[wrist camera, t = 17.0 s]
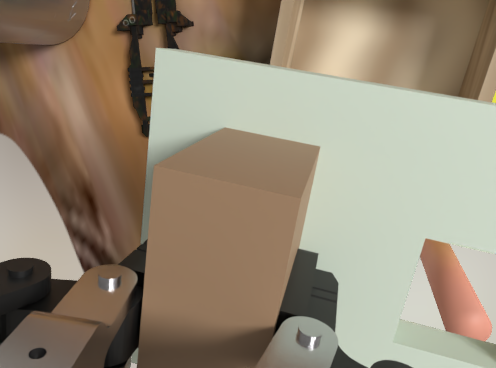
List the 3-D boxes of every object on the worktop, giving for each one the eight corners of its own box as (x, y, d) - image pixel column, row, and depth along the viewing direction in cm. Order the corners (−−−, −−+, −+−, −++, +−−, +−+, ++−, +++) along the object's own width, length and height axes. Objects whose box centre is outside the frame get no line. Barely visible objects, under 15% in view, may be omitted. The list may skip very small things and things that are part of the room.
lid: (148, 338, 18) (45, 479, 12) (175, 48, 14) (44, 42, 8) (495, 444, 16) (584, 688, 10) (639, 127, 12) (938, 200, 6)
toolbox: (272, 119, 35) (257, 131, 30) (302, -38, 32) (292, -59, 26) (446, 156, 33) (465, 176, 27) (501, -9, 29) (536, -25, 24)
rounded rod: (413, 252, 36) (441, 340, 25) (419, 226, 35) (451, 304, 24) (442, 257, 35) (485, 350, 24) (450, 231, 35) (497, 314, 23)
